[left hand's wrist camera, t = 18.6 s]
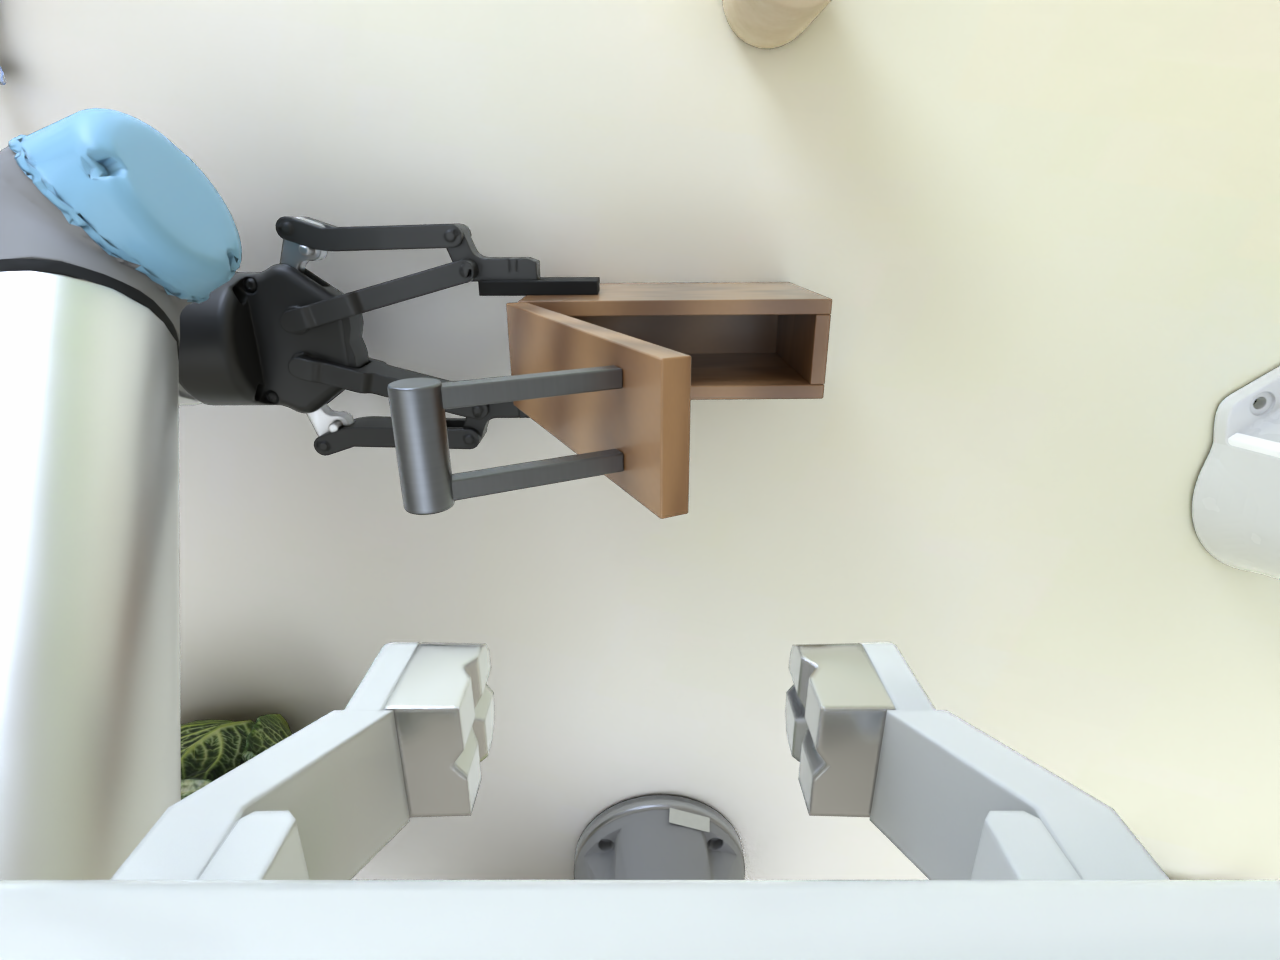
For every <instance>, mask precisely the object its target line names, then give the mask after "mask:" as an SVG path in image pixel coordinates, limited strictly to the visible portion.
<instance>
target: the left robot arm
mask: <svg viewBox="0 0 1280 960" xmlns="http://www.w3.org/2000/svg"><path fill="white" fill-rule="evenodd" d="M1256 399H1257V402H1256V403H1255V404H1254V405H1253V403H1254V401H1255V400H1256ZM1192 519H1193V524H1194V528H1195V531H1196V534H1197V536H1198V538H1199V540H1200V542H1201V544H1202V545H1203V547H1204V548H1205V549H1206V550H1207V551H1208V552H1209V553H1210V554H1211V555H1212V556H1213V557H1214V558H1216V559H1217V560H1218V561H1220V562H1222V563H1224V564H1226V565H1228V566H1230V567H1233V568H1236V569H1240V570H1245V571H1250V572H1254V573H1258V574H1262V575H1266V576H1269V577H1272V578H1276V579H1279V580H1280V366H1279V367H1277V368H1275V369H1274V370H1272V371H1270V372H1268V373H1267V374H1265V375H1263V376H1261V377H1260V378H1258V379H1256V380H1255V381H1253V382H1251V383H1249V384H1248V385H1246V386H1244V387H1242V388H1241V389H1239V390H1237V391H1236V392H1234V393H1232V394H1230V395H1229V396H1227V397H1226V398H1225V399H1224V400H1223V401H1222V402H1221V403H1220V405H1219V407H1218V409H1217V412H1216V415H1215V422H1214V435H1213V444H1212V447H1211V450H1210V452H1209V455H1208V457H1207V459H1206V461H1205V463H1204V465H1203V467H1202V469H1201V471H1200V474H1199V476H1198V479H1197V482H1196V485H1195V489H1194V494H1193V499H1192ZM490 670H491V662H490V654H489V648H488V647H487V645H486V644H471V643H419V642H390V643H388V644H385V645H384V646H383V647H382V648H381V650H380V652H379V653H378V655H377V657H376V658H375V660H374V662H373V663H372V665H371V666H370V668H369V670H368V671H367V673H366V675H365V676H364V678H363V680H362V681H361V683H360V684H359V686H358V688H357V689H356V691H355V693H354V694H353V696H352V698H351V699H350V701H349V702H348V704H347V706H346V707H345V709H344V710H333V711H331V712H330V713H328V714H326V715H325V716H323V717H321V718H320V719H318V720H316V721H315V722H313V723H311V724H309V725H308V726H306V727H304V728H303V729H301V730H299V731H298V732H296V733H294V734H292V735H291V736H289V737H287V738H286V739H284V740H282V741H281V742H279V743H277V744H275V745H274V746H272V747H270V748H269V749H267V750H265V751H264V752H262V753H260V754H259V755H257V756H255V757H253V758H252V759H250V760H248V761H247V762H245V763H243V764H242V765H240V766H238V767H236V768H235V769H233V770H231V771H230V772H228V773H226V774H225V775H223V776H221V777H219V778H218V779H216V780H214V781H213V782H211V783H209V784H208V785H206V786H204V787H203V788H201V789H199V790H197V791H196V792H194V793H192V794H191V795H189V796H187V797H186V798H184V799H182V800H180V801H179V802H177V803H175V804H174V805H172V806H170V807H169V808H168V809H167V810H166V811H165V812H164V813H163V815H162V816H161V817H160V818H159V820H158V821H157V822H156V823H155V825H154V826H153V827H152V828H151V830H150V831H149V832H148V833H147V834H146V836H145V837H144V838H143V839H142V841H141V842H140V843H139V844H138V846H137V847H136V848H135V849H134V851H133V852H132V853H131V854H130V855H129V857H128V858H127V859H126V860H125V862H124V863H123V864H122V865H121V867H120V868H119V869H118V870H117V872H116V873H115V874H114V875H113V876H112V878H111V879H110V880H0V960H1280V880H1170V879H1169V878H1168V876H1167V875H1166V874H1165V873H1164V871H1163V870H1162V869H1161V868H1160V866H1159V865H1158V864H1157V863H1156V861H1155V860H1154V859H1153V858H1152V857H1151V855H1150V854H1149V853H1148V852H1147V850H1146V849H1145V848H1144V847H1143V845H1142V844H1141V843H1140V842H1139V840H1138V839H1137V838H1136V837H1135V835H1134V834H1133V833H1132V832H1131V830H1130V829H1129V828H1128V827H1127V825H1126V824H1125V823H1124V822H1123V820H1122V819H1121V818H1120V817H1119V815H1118V814H1117V813H1116V812H1115V810H1114V809H1113V808H1111V807H1109V806H1108V805H1106V804H1104V803H1102V802H1101V801H1099V800H1097V799H1096V798H1094V797H1092V796H1091V795H1089V794H1087V793H1086V792H1084V791H1082V790H1080V789H1079V788H1077V787H1075V786H1074V785H1072V784H1070V783H1069V782H1067V781H1065V780H1064V779H1062V778H1060V777H1058V776H1057V775H1055V774H1053V773H1052V772H1050V771H1048V770H1047V769H1045V768H1043V767H1042V766H1040V765H1038V764H1036V763H1035V762H1033V761H1031V760H1030V759H1028V758H1026V757H1025V756H1023V755H1021V754H1020V753H1018V752H1016V751H1014V750H1013V749H1011V748H1009V747H1008V746H1006V745H1004V744H1003V743H1001V742H999V741H998V740H996V739H994V738H993V737H991V736H989V735H987V734H986V733H984V732H982V731H981V730H979V729H977V728H976V727H974V726H972V725H971V724H969V723H967V722H965V721H964V720H962V719H960V718H959V717H957V716H955V715H954V714H952V713H950V712H949V711H947V710H936V709H935V707H934V706H933V704H932V703H931V701H930V699H929V698H928V696H927V694H926V693H925V691H924V690H923V688H922V686H921V685H920V683H919V682H918V680H917V678H916V677H915V675H914V673H913V672H912V670H911V669H910V667H909V665H908V664H907V662H906V660H905V659H904V657H903V656H902V654H901V652H900V651H899V649H898V648H897V646H896V645H895V644H893V643H892V642H872V643H858V644H806V645H792V649H791V653H790V661H789V670H790V673H791V676H792V679H793V682H794V685H793V686H792V687H791V688H790V689H789V690H788V691H787V693H786V709H785V713H786V731H787V737H788V743H789V747H790V750H791V754H792V756H793V757H794V758H795V759H796V760H798V761H799V762H800V768H799V782H800V786H801V789H802V792H803V796H804V799H805V803H806V806H807V809H808V813H809V815H812V816H848V817H870V821H871V822H872V823H873V824H874V825H875V826H876V827H877V828H878V829H879V830H880V831H881V832H882V833H883V834H884V835H885V836H886V837H887V838H888V839H889V840H890V841H891V842H892V843H893V844H894V845H895V846H896V847H897V848H898V849H899V850H900V851H901V852H902V853H903V854H904V855H905V856H906V857H907V858H908V859H909V860H910V861H911V862H912V863H913V864H914V865H915V866H916V867H917V868H918V869H919V870H920V871H921V872H922V873H923V874H924V875H925V876H926V877H927V878H928V879H929V880H351V879H352V878H353V877H354V876H355V875H356V874H357V873H358V872H359V871H360V870H361V869H362V868H363V867H364V866H365V865H366V864H367V863H368V862H369V861H370V860H371V859H372V858H373V857H374V856H375V855H376V854H377V853H378V852H379V851H380V850H381V849H382V848H383V847H384V846H385V845H386V844H387V843H388V842H389V841H390V840H391V839H392V838H393V837H394V836H395V835H396V834H397V833H398V832H399V831H400V830H401V829H402V828H403V827H404V826H405V825H406V824H407V823H408V822H409V821H410V817H432V816H466V815H471V813H472V810H473V806H474V803H475V800H476V796H477V793H478V789H479V786H480V782H481V768H480V762H481V761H482V760H484V759H485V758H486V757H487V756H488V754H489V750H490V747H491V743H492V737H493V729H494V711H495V705H494V693H493V691H492V690H491V689H490V688H489V687H488V686H487V685H486V683H487V679H488V676H489V673H490Z"/></svg>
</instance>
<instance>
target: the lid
mask: <svg viewBox="0 0 1280 960" xmlns="http://www.w3.org/2000/svg"><path fill="white" fill-rule="evenodd" d="M506 308H507V321H508V335H509V349H510V362H511V376H503V377H494V378H484V379H474V380H464V381H455V382H445V383H441V381H440V380H437V379H433V378H408V379H401V380H397V381H394V382H392V383H390V384H388V387H387V389H388V396H389V403H390V411H391V418H392V425H393V432H394V440H395V447H396V454H397V461H398V468H399V476H400V483H401V490H402V497H403V504H404V508H405V510H406V511H407V512H409V513H412V514H417V515H428V514H435V513H439V512H443V511H445V510H448V509H449V508H451V507H452V506H453V505H454V502H455V500H460V499H466V498H472V497H478V496H483V495H489V494H495V493H501V492H507V491H512V490H518V489H524V488H530V487H535V486H541V485H547V484H553V483H558V482H564V481H570V480H576V479H582V478H587V477H593V476H599V475H605V476H606V477H608V478H609V479H610V480H611V481H613V482H614V483H615V484H617V485H618V486H619V487H620V488H622V489H623V490H624V491H626V492H627V493H628V494H630V495H631V496H632V497H633V498H635V499H636V500H637V501H639V502H640V503H641V504H642V505H644V506H645V507H646V508H648V509H649V510H650V511H651V512H653V513H654V514H655V515H657V516H658V517H659V518H661V519H663V518H668V517H673V516H677V515H682V514H687V513H688V495H689V448H690V401H691V356H689V355H686V354H683V353H680V352H677V351H674V350H671V349H668V348H665V347H662V346H659V345H656V344H652V343H649V342H646V341H643V340H640V339H637V338H634V337H631V336H628V335H625V334H622V333H619V332H616V331H612V330H609V329H606V328H603V327H600V326H597V325H594V324H591V323H588V322H585V321H582V320H579V319H576V318H572V317H569V316H566V315H563V314H560V313H557V312H554V311H551V310H548V309H545V308H542V307H539V306H536V305H533V304H529V303H526V302H519V303H507V304H506ZM511 401H513V404H514V406H516V407H517V408H518V409H520V410H521V411H522V412H524V413H525V414H526V415H527V416H529V417H530V418H531V419H533V420H534V421H535V422H536V423H538V424H539V425H540V426H542V427H543V428H544V429H545V430H547V431H548V432H549V433H551V434H552V435H553V436H555V437H556V438H557V439H558V440H560V441H561V442H562V443H564V444H565V445H566V446H567V447H569V448H570V449H571V450H573V451H574V452H575V453H577V455H571V456H565V457H558V458H552V459H546V460H539V461H533V462H526V463H520V464H514V465H507V466H501V467H495V468H488V469H482V470H476V471H469V472H463V473H457V474H452V472H451V463H450V454H449V445H448V435H447V426H446V417H445V409H452V408H460V407H469V406H477V405H486V404H494V403H503V402H511Z"/></svg>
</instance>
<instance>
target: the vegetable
mask: <svg viewBox="0 0 1280 960" xmlns="http://www.w3.org/2000/svg"><path fill="white" fill-rule="evenodd" d="M291 735H292V733H291V731H290V728H289V725H288V723H287V721H286V720H285V719H284V718H283V717H282V716H281V714H267V715H264V716H260V717H258V718H257V720H256V722H254V721H252V720H246V721H238V722H233V721H231V720H197V721H194V722H190V723H187V724H181V800H182V799H184V798H186V797H187V796H189V795H191V794H192V793H194V792H196V791H197V790H199V789H201V788H203V787H204V786H206V785H208V784H209V783H211V782H213V781H214V780H216V779H218V778H219V777H221V776H223V775H225V774H226V773H228V772H230V771H231V770H233V769H235V768H236V767H238V766H240V765H242V764H243V763H245V762H247V761H248V760H250V759H252V758H253V757H255V756H257V755H259V754H260V753H262V752H264V751H265V750H267V749H269V748H270V747H272V746H274V745H275V744H277V743H279V742H281V741H282V740H284V739H286V738H287V737H289V736H291Z"/></svg>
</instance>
